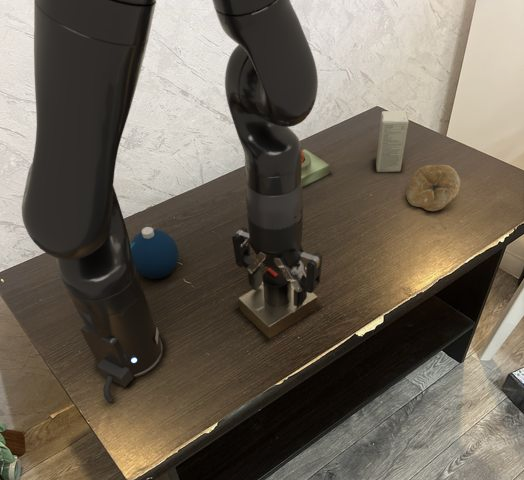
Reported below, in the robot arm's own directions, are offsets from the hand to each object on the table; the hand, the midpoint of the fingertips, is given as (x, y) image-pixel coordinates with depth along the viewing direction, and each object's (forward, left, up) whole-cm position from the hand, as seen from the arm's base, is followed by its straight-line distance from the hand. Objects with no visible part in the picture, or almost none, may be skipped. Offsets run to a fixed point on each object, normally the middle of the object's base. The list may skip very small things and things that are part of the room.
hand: (277, 294), depth 81 cm
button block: (+35, +16, -4) cm, 38 cm away
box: (+47, 0, -4) cm, 47 cm away
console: (0, 0, -4) cm, 4 cm away
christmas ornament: (-2, +24, -4) cm, 24 cm away
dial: (0, 0, 0) cm, 0 cm away
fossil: (+39, -12, -4) cm, 41 cm away
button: (+35, +16, 0) cm, 38 cm away
